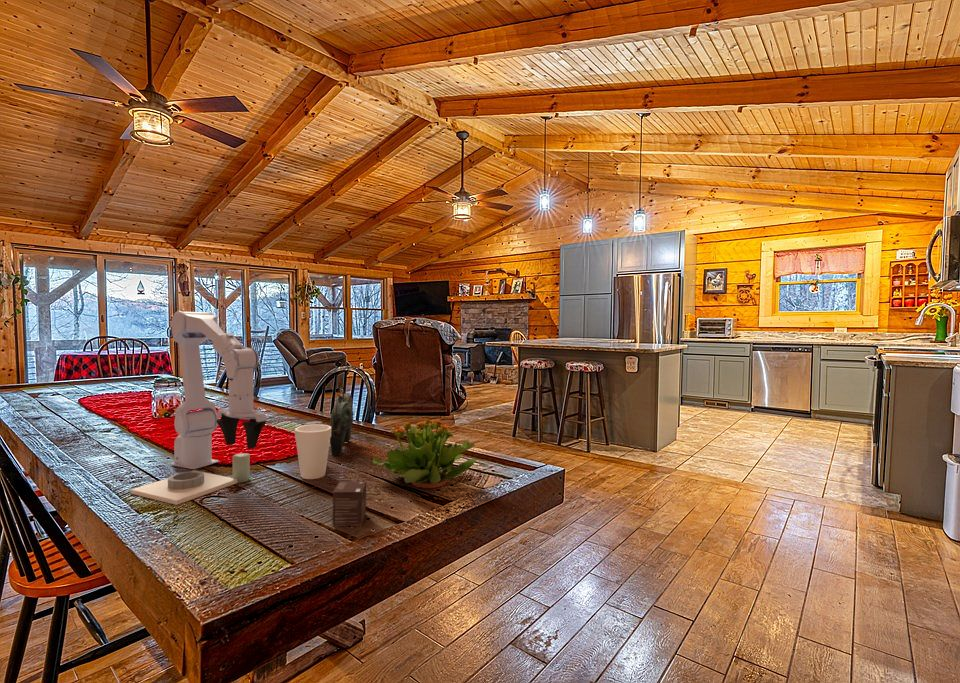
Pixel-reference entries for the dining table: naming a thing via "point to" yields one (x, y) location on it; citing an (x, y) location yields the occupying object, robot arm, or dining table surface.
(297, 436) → the foam cup
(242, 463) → the grey rounded piece
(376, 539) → the dining table surface
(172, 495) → the socket plate
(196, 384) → the robot arm
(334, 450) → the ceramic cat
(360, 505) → the box
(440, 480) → the potted flower
